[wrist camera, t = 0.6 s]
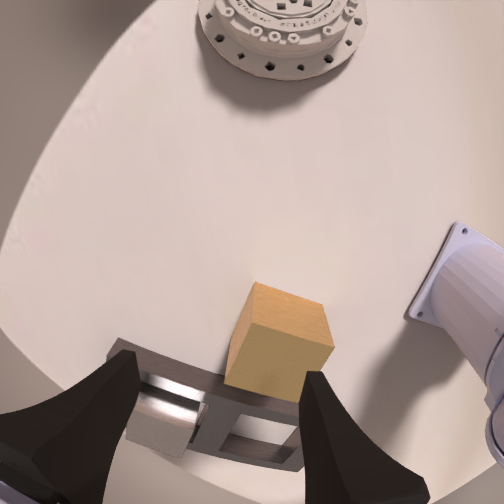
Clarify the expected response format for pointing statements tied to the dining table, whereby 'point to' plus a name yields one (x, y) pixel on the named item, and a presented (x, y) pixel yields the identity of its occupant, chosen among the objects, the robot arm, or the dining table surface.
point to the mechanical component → (284, 34)
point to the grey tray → (222, 411)
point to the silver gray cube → (162, 420)
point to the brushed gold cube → (277, 343)
